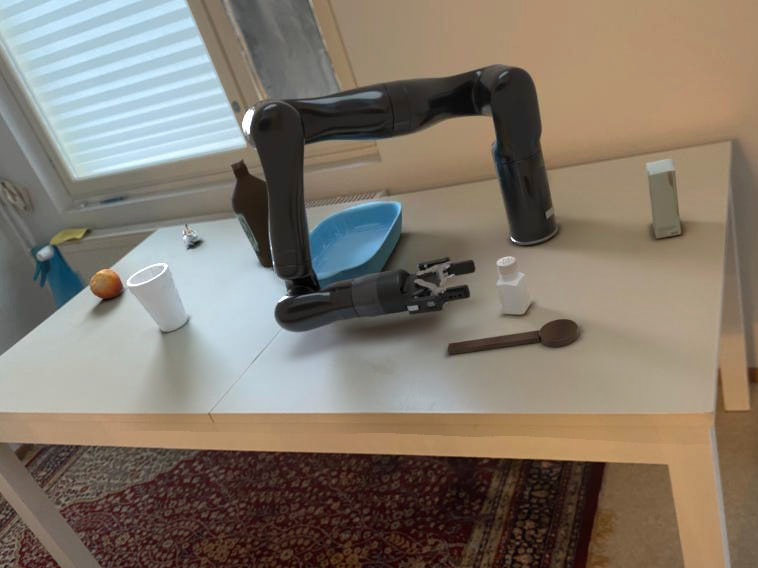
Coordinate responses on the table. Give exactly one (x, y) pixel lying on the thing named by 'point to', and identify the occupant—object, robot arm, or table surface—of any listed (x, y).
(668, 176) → the cosmetic box
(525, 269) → the table surface
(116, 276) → the fruit
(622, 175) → the table surface
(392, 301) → the robot arm
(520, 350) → the table surface
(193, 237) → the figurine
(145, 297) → the foam cup
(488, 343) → the wooden spoon
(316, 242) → the casserole dish
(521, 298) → the salt shaker
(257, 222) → the olive oil
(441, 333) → the table surface
